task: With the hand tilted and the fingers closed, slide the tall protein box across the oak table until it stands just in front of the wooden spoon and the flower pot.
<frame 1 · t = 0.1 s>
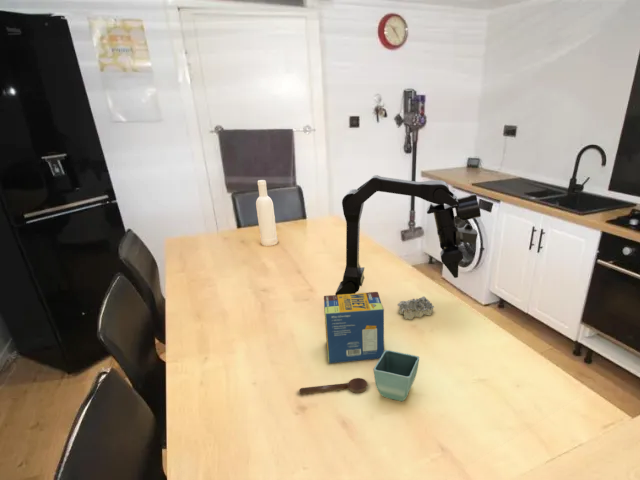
hand: (455, 271, 127), 15 cm above the table, tool pointing down, fingers open, 9 cm apart
egg carton: (415, 313, 135), on the table
protein box: (354, 351, 115), on the table
bottle: (269, 243, 198), on the table
flower pot: (396, 394, 99), on the table
wooden spoon: (337, 389, 100), on the table
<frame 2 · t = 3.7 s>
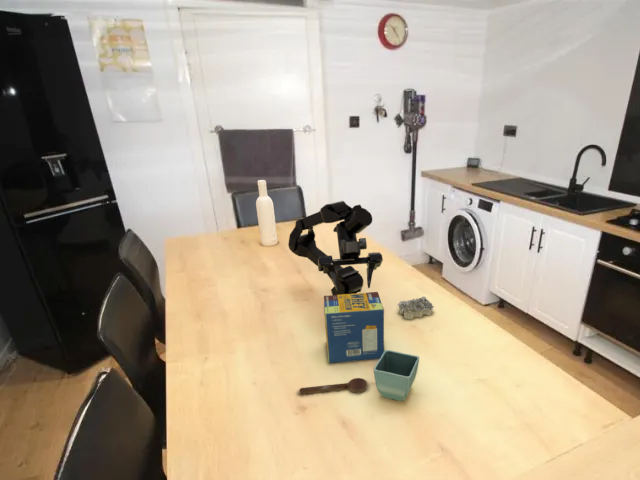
hand: (353, 289, 119), 14 cm above the table, tool tilted 45°, fingers open, 9 cm apart
nothing on the table moved.
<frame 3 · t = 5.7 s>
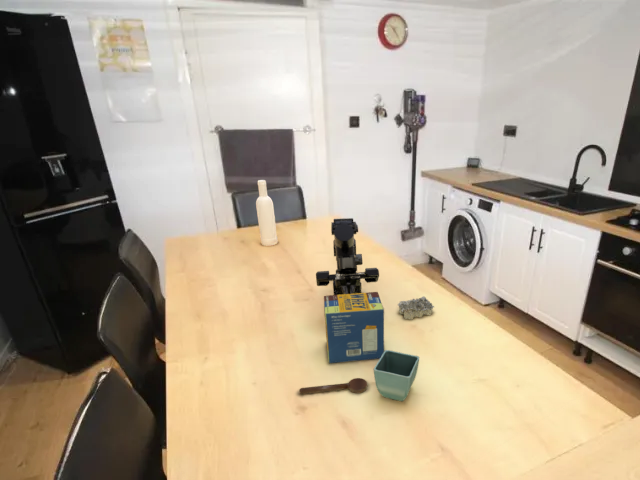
hand: (350, 303, 121), 9 cm above the table, tool tilted 45°, fingers closed
nothing on the table moved.
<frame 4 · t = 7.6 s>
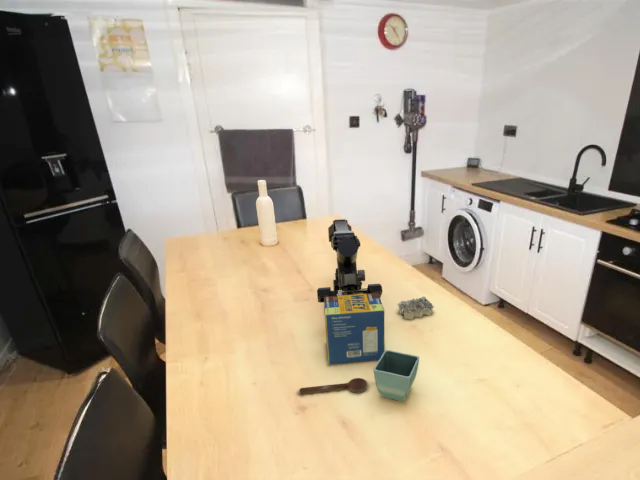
hand: (352, 321, 117), 7 cm above the table, tool tilted 45°, fingers closed, pressing on protein box
protein box: (355, 352, 115), on the table, touching gripper
everything else where it was.
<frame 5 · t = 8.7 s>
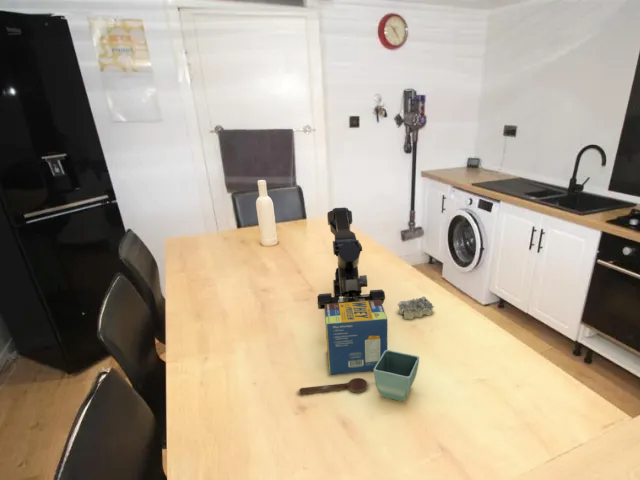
hand: (354, 328, 113), 7 cm above the table, tool tilted 45°, fingers closed, pressing on protein box
protein box: (356, 361, 111), on the table, touching gripper
everything else where it was.
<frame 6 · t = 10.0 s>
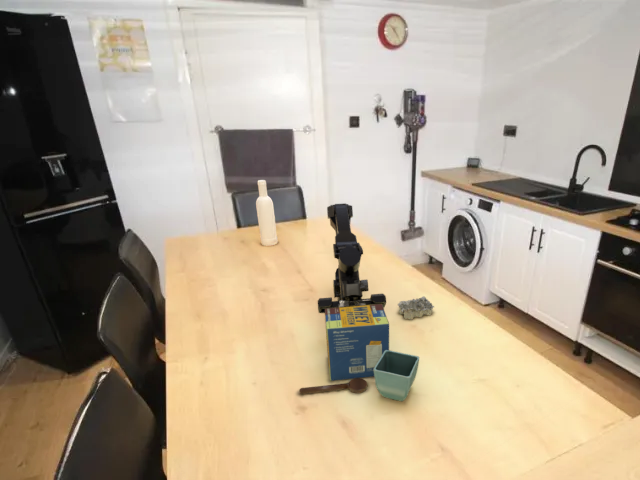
hand: (354, 333, 111), 7 cm above the table, tool tilted 45°, fingers closed
protein box: (357, 367, 109), on the table
everything else where it was.
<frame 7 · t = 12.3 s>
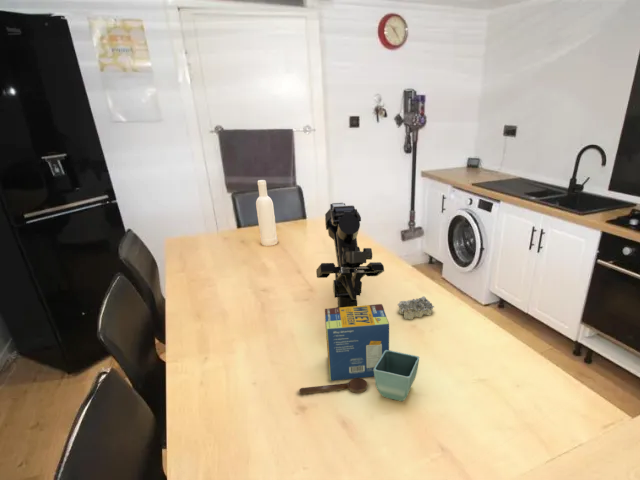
hand: (353, 299, 115), 13 cm above the table, tool tilted 40°, fingers closed
nothing on the table moved.
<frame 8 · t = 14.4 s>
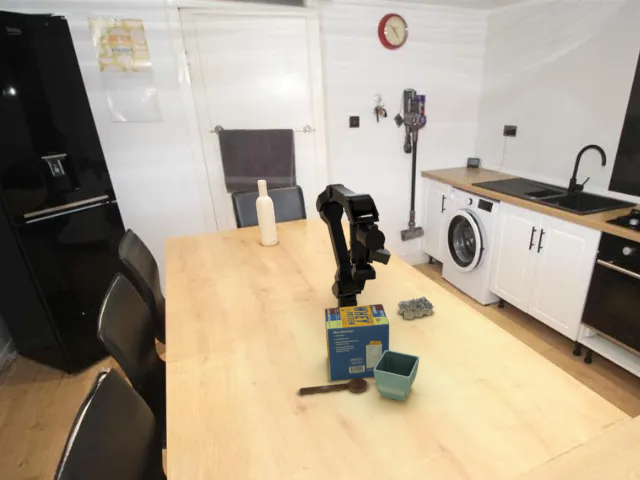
hand: (361, 290, 121), 13 cm above the table, tool pointing down, fingers closed
nothing on the table moved.
at the end: protein box 0.6 cm from the target spot, on the table; protein box tilted 0°; flower pot moved 0.2 cm from its start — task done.
